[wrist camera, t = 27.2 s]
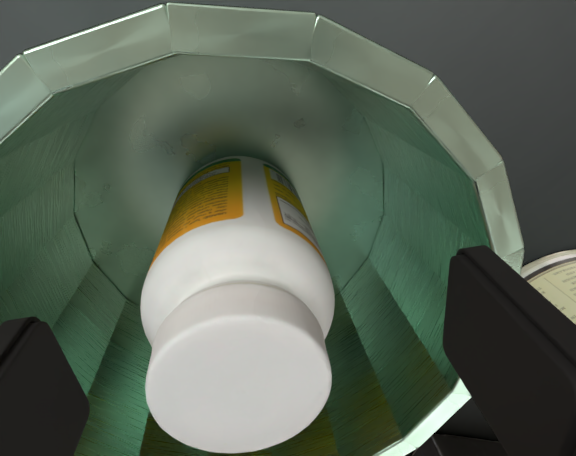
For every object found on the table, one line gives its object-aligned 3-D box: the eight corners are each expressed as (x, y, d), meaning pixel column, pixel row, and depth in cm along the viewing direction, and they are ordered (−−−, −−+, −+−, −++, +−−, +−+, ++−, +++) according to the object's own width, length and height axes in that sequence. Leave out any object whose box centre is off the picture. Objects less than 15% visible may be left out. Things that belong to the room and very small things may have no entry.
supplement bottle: (314, 167, 16) (404, 308, 8) (282, 274, 19) (327, 477, 10) (183, 139, 15) (121, 268, 7) (165, 257, 17) (101, 470, 9)
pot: (397, -4, 15) (580, -51, 7) (395, 312, 21) (488, 466, 14) (-10, 49, 14) (-314, 62, 6) (121, 362, 20) (56, 557, 13)
